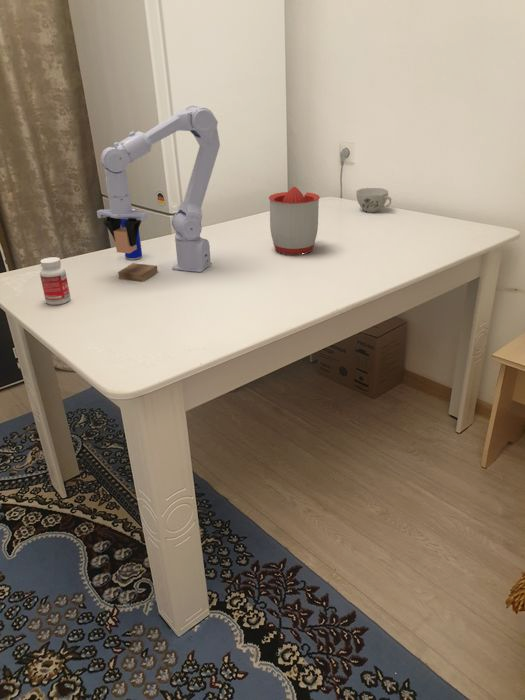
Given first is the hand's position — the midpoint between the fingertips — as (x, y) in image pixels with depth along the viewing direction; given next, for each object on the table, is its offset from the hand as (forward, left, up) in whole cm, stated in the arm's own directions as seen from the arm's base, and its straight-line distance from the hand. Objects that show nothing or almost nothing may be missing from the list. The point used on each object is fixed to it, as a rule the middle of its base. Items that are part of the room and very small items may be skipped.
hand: (126, 244), depth 154 cm
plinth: (-2, -1, -9) cm, 10 cm away
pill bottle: (+8, +22, -10) cm, 25 cm away
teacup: (-54, -94, -10) cm, 109 cm away
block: (0, 0, -2) cm, 2 cm away
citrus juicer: (-38, -37, -10) cm, 54 cm away
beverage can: (+8, -15, -10) cm, 20 cm away
